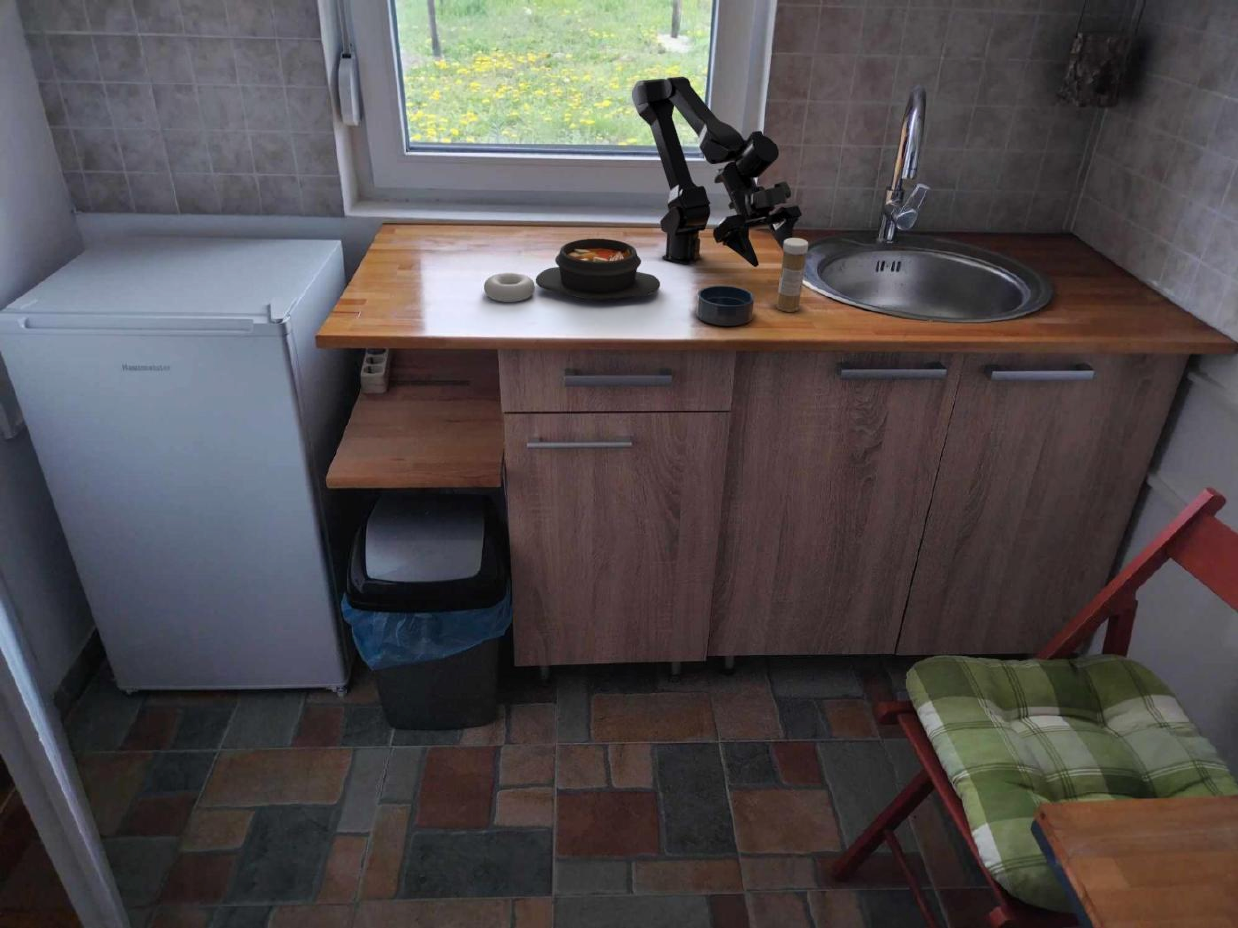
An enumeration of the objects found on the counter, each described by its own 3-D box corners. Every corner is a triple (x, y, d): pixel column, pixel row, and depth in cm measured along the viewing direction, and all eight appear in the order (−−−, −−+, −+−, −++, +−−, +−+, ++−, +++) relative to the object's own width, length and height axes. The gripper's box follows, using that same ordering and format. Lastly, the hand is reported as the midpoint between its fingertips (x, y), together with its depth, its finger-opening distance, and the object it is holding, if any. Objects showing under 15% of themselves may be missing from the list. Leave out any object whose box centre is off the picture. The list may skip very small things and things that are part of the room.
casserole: (664, 279, 191) (666, 239, 187) (654, 312, 175) (656, 270, 171) (546, 270, 194) (545, 231, 189) (526, 302, 178) (525, 260, 174)
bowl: (686, 319, 173) (688, 298, 171) (710, 302, 181) (712, 281, 178) (738, 331, 168) (740, 310, 166) (760, 313, 176) (763, 292, 174)
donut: (522, 308, 176) (543, 290, 184) (521, 291, 174) (542, 273, 182) (475, 301, 178) (497, 283, 186) (474, 284, 177) (496, 266, 185)
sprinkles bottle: (781, 302, 181) (790, 235, 174) (803, 307, 179) (812, 240, 172) (771, 309, 178) (780, 241, 171) (793, 314, 176) (802, 246, 169)
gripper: (728, 174, 168) (761, 250, 167) (801, 162, 178) (834, 234, 176) (698, 206, 178) (729, 278, 176) (769, 193, 187) (800, 261, 185)
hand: (774, 262), depth 178 cm, fingers open, 9 cm apart
